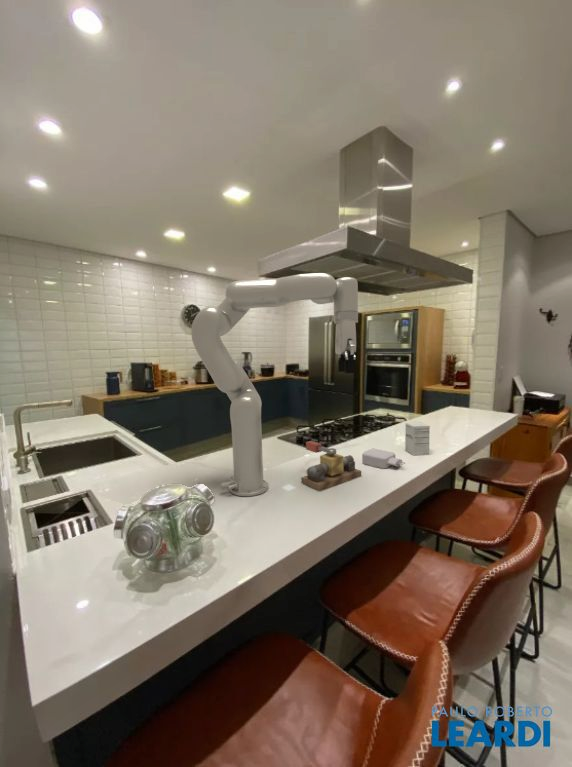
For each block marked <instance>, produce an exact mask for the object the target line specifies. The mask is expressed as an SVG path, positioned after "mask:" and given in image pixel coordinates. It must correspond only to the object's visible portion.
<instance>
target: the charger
mask: <svg viewBox="0 0 572 767" xmlns="http://www.w3.org/2000/svg"><path fill="white" fill-rule="evenodd" d="M361 455H362V456H361V458H362V459H361V460H362V464H363V465H367V466H371V467H374V468H380V469H388V468H390V467H400V466H401V465H402V466H403V465H404V464H406V462H405V461H404V462H403V460H402V458H401V459H400V458H396V453H395V452H392V451H387V450H383V449H378V448H371V449H368V450H366V451H364V452H363V453H362V454H361Z"/></svg>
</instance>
